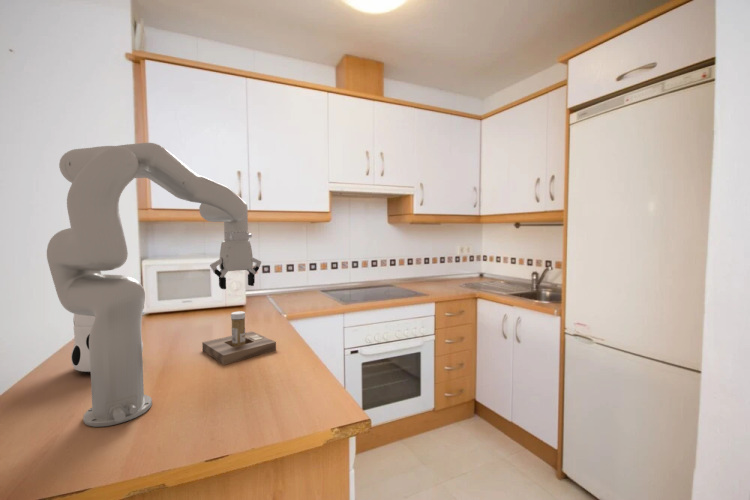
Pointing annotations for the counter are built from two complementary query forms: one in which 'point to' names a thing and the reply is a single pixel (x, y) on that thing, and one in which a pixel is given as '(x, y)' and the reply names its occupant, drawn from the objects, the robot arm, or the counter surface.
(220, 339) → the socket board
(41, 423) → the counter surface
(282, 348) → the counter surface
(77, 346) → the milk container
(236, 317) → the sprinkles bottle
